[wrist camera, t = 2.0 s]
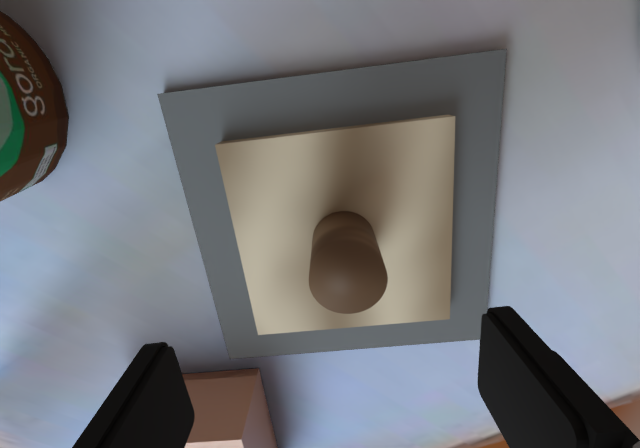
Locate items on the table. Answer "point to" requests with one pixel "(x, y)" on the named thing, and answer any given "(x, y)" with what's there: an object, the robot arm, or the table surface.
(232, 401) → the open square bin
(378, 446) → the table surface
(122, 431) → the robot arm
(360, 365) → the table surface
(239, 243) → the lid
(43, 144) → the food container
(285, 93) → the mat
